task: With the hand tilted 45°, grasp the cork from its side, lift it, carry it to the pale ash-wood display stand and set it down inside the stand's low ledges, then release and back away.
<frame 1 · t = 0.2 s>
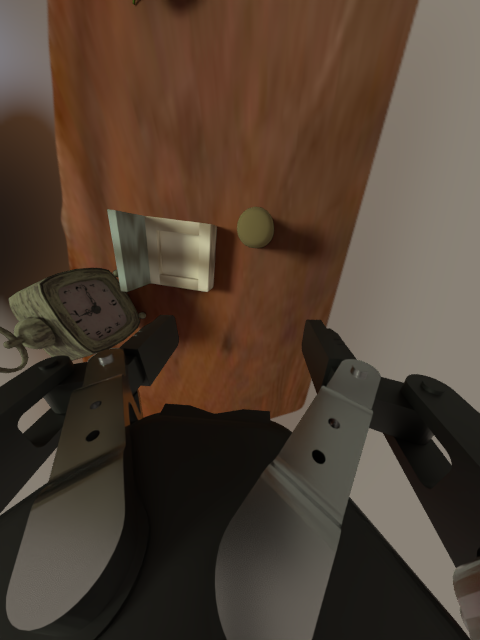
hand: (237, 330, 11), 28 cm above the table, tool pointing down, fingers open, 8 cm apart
tabletop clock: (124, 297, 44), on the table
display stand: (187, 254, 38), on the table
cork: (258, 231, 34), on the table
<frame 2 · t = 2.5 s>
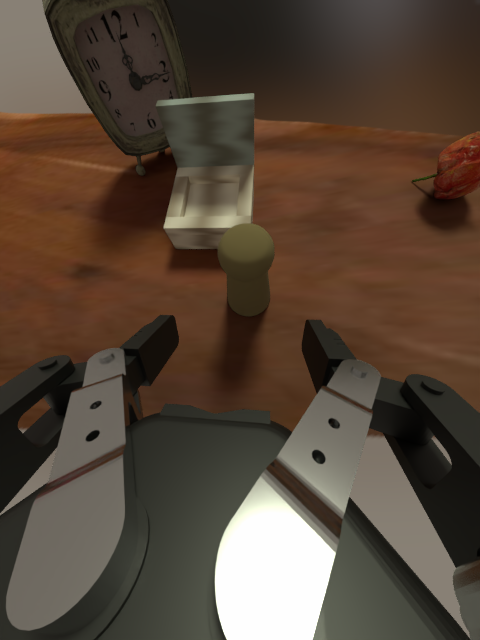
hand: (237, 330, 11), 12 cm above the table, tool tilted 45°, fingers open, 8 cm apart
pomegranate: (435, 192, 29), on the table
tabletop clock: (165, 158, 36), on the table
display stand: (216, 219, 30), on the table
cork: (248, 296, 26), on the table
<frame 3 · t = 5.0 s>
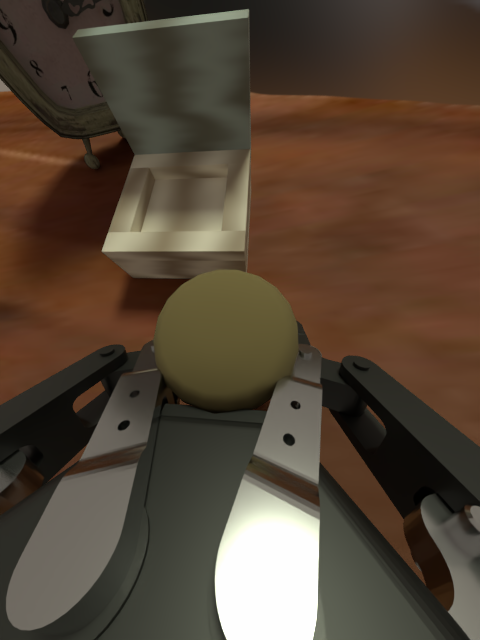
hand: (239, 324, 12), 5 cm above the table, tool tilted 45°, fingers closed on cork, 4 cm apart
tabletop clock: (130, 146, 27), on the table
display stand: (195, 231, 20), on the table
cork: (242, 360, 16), on the table, touching gripper
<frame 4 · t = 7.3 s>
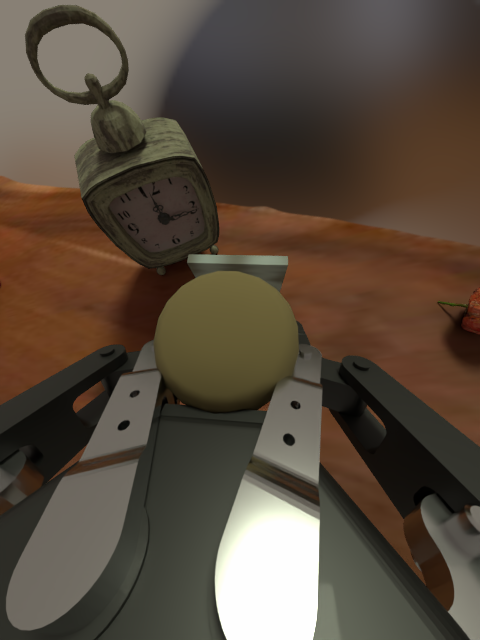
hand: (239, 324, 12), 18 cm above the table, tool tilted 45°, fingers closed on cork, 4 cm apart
pomegranate: (461, 317, 29), on the table
tabletop clock: (185, 252, 36), on the table
display stand: (239, 334, 30), on the table
cork: (241, 361, 16), point 13 cm above the table, touching gripper
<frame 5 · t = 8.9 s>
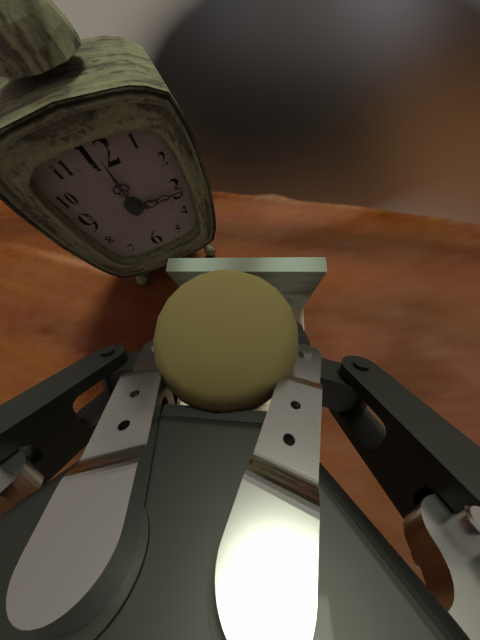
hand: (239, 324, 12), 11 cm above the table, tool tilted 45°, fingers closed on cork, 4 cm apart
tabletop clock: (173, 255, 28), on the table
display stand: (246, 364, 22), on the table
cork: (241, 360, 16), point 7 cm above the table, touching gripper
when the fingers open (9 cm above the table, at t = 9.8 s): cork drops 1 cm, resting on display stand.
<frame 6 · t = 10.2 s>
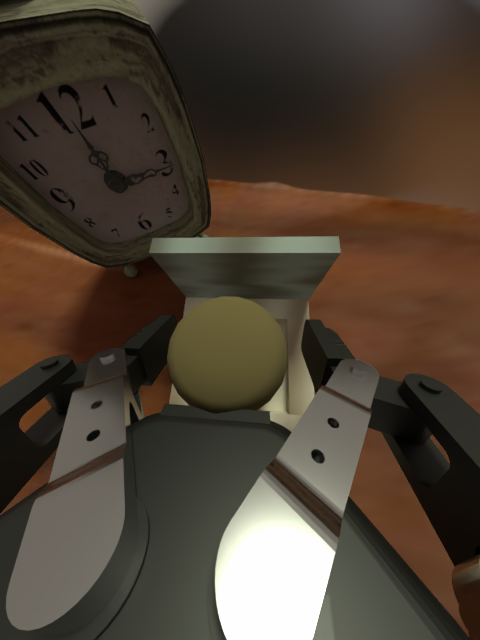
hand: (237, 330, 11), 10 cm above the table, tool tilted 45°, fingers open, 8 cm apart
tabletop clock: (166, 246, 26), on the table
display stand: (244, 364, 20), on the table
cork: (241, 366, 17), point 3 cm above the table, touching display stand
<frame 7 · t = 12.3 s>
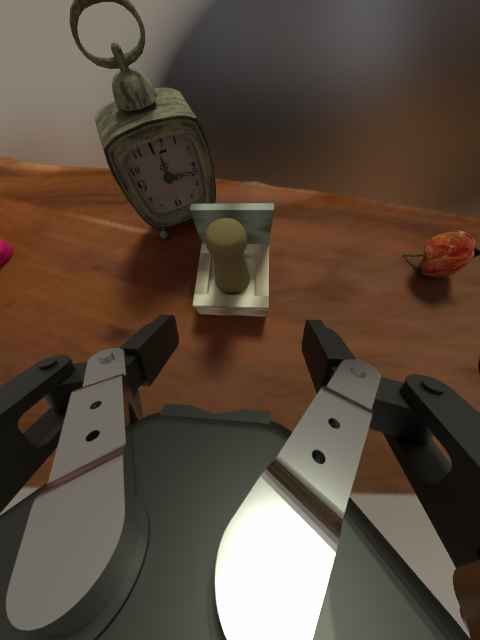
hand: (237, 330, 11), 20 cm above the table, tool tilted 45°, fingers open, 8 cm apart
pepper mill: (0, 256, 40), on the table
pomegranate: (422, 266, 34), on the table
tabletop clock: (185, 220, 40), on the table
display stand: (234, 285, 34), on the table
cork: (232, 279, 31), point 3 cm above the table, touching display stand
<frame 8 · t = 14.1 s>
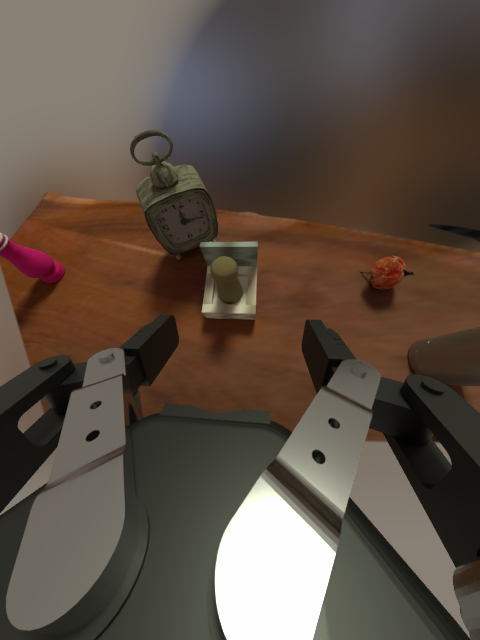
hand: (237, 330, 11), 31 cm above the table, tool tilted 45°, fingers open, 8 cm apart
pepper mill: (55, 274, 52), on the table
pomegranate: (374, 281, 44), on the table
tabletop clock: (194, 245, 52), on the table
display stand: (232, 296, 46), on the table
cork: (230, 292, 43), point 3 cm above the table, touching display stand
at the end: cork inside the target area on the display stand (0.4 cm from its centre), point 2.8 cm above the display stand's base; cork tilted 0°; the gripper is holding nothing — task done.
